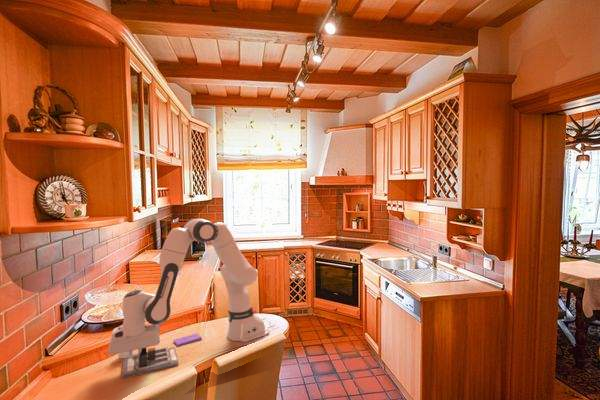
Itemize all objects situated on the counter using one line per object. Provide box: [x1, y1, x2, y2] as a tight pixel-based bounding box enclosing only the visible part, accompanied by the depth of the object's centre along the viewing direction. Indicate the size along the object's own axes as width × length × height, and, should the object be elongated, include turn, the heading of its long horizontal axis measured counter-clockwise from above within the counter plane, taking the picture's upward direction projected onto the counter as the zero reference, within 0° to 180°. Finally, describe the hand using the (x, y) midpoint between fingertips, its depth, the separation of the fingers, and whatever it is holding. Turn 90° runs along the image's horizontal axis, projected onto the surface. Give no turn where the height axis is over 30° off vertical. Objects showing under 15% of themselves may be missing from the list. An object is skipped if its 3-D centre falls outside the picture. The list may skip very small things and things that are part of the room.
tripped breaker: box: [147, 346, 156, 360], centre depth 146 cm, size 3×3×5 cm
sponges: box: [173, 332, 203, 347], centre depth 168 cm, size 7×13×2 cm, turn 127°
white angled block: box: [117, 350, 136, 359], centre depth 153 cm, size 4×10×9 cm
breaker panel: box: [121, 346, 179, 379], centre depth 146 cm, size 22×16×6 cm
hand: (135, 358), depth 143 cm, fingers closed
